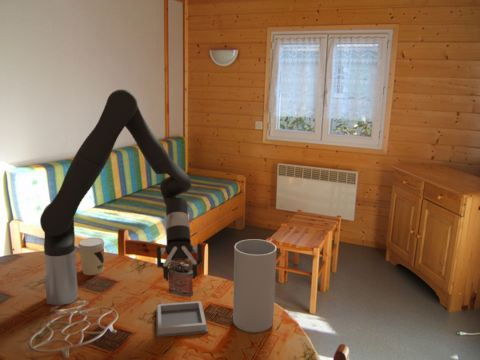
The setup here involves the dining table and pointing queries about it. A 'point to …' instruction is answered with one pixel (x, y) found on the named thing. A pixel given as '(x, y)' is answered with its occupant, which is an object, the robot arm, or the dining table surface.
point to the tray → (180, 319)
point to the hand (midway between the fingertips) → (180, 279)
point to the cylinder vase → (254, 285)
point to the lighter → (180, 279)
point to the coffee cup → (92, 255)
